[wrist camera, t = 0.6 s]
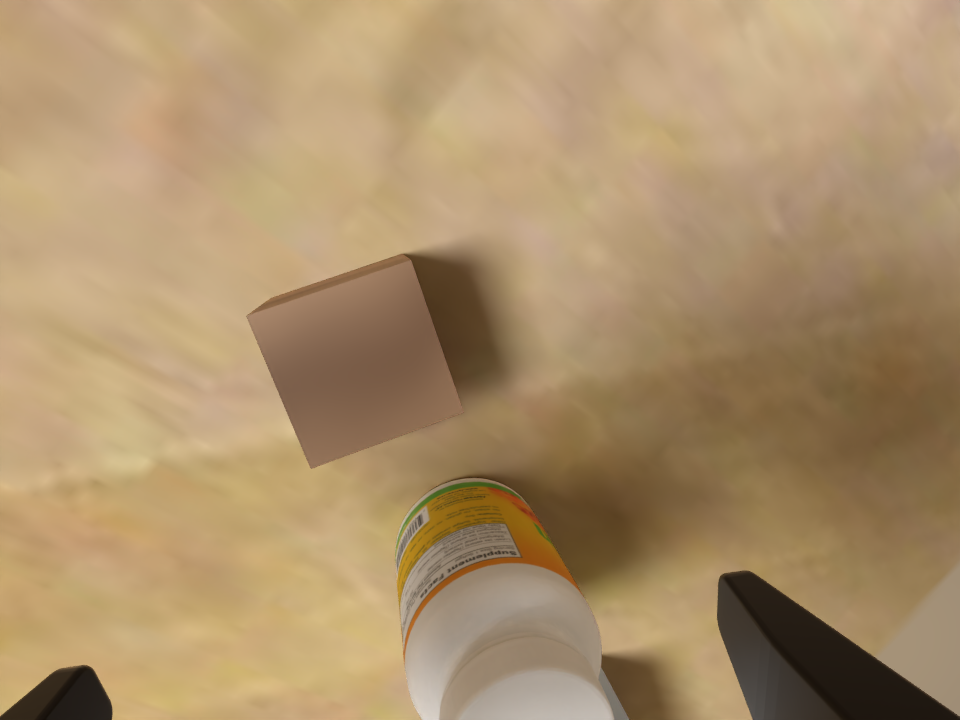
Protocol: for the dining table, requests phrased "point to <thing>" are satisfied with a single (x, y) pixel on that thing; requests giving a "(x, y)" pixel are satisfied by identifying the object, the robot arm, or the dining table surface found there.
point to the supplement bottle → (492, 612)
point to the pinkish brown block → (356, 359)
